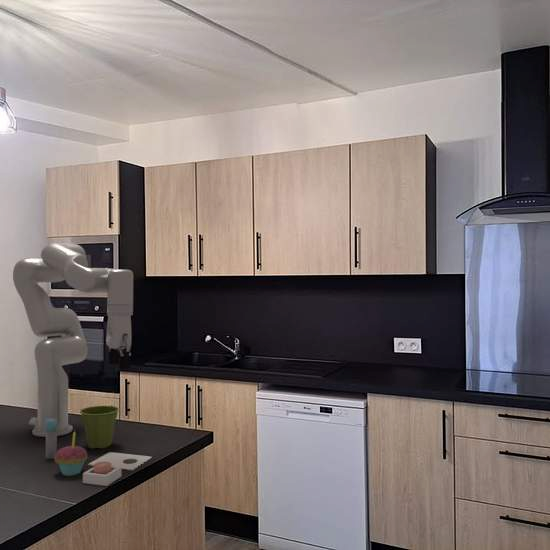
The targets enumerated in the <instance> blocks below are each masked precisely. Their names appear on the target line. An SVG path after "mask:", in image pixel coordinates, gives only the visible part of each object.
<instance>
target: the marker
mask: <svg viewBox="0 0 550 550" xmlns="http://www.w3.org/2000/svg"><path fill="white" fill-rule="evenodd" d="M57 443H58V436H57V419H55V418H52V419H47V420H46V437H45V460H53V459H54V455H55V453H56V452H57V451H58V448H57V447H58V444H57Z"/></svg>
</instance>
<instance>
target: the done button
mask: <svg viewBox="0 0 550 550" xmlns="http://www.w3.org/2000/svg"><path fill="white" fill-rule="evenodd" d="M93 467H94V473H96V474H104V475H106V474H108V473H109V472H111V463H110V462H98V463H95V464H94V466H93Z"/></svg>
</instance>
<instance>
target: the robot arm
mask: <svg viewBox="0 0 550 550" xmlns="http://www.w3.org/2000/svg"><path fill="white" fill-rule="evenodd" d="M12 280H13V284H14V287H15V289H16V291H17V293H18V296H19V297H20V299H21V302H22V303H23V306H24V309H25V313H26V316H27V319H28V322H29V325H30V328H31V331H32V333H33V334H34V335H35V336H36V337H41V338H42V337H43V338H44V337H46V338H45V339H43V340H40V341H39V342H38V343H37V344H36V346H35V347H34V358H35V365H36V369H37V370H36V372H37V417H31V419H30V420H29V421H28V425H29V426H30V425H31V426H34V428H33V429H32V435H33V436H36V437H42V438H46V420H47V419H52V418H55V419H57V437H60V436H64V435H68V434H70V433H72V431H73V430H74V429H73V425H71V424H69V378H68V374H67V373H66V371H65V370H64V368H63V366H65V365H70V364H71V365H72V364H78V363H81V362H83V361H85V359H86V358H87V356H88V350H89V349H88V343H87V341H86V337H85V333H84V331H83V328H82V325H81V322H80V319H79V317H78V314H77V313H76V311H74V310H73V309H71V308H67V307H58V308H57V307H54V306H53V304H52V302H51V297H50V295H49V294H48V293H47V291H46V290H45V289H44V288H43V287H42V286H41V285H39V284H38V283H59V282H60V283H61V282H63V281H65V282H66V284H67V285H68V286H70V287H71V288H73V289H74V290H76V291H78V292H82V293H85V294H86V293H87V294H92V293H96V294H97V293H98V294H99V293H107V299H106V301H107V302H106V303H107V304H106V307H107V308H106V309H107V310H106V316H107V321H106V322H107V324H106V339H105V341H106V342H105V343H106V346H107V347H108V365H118V369H119V370H121V371H122V370H123V371H124V370H130V369H131V356H132V353H131V351H132V347H131V346H132V320H131V316H133V314H134V313H133V312H134V272H133V271H132V270H131V269H122V268H121V269H117V268H110V267H109V268H108V267H107V268H105V267H88V260H87V254H86V251H85V249H84V248H83V246H81V245H80V244H76V243H63V242H62V243H59V242H53V243H50V244H47V245H45V246H44V247H43V248H42V249H41V253H40V257H27V258H23V259H20V260H19V261H17V262H16V263H15V265H14V267H13V271H12ZM47 337H49V338H47Z"/></svg>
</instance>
